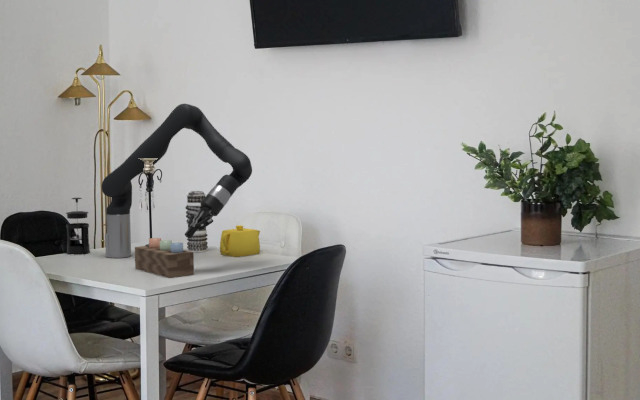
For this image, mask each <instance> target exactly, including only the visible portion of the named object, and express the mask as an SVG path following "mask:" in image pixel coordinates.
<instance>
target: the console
mask: <svg viewBox="0 0 640 400" xmlns="http://www.w3.org/2000/svg"><path fill="white" fill-rule="evenodd" d="M194 255H195V254H194V253H193V252H191V251H187V249H183V252H182V253H171V250H166V251H162V250H160V248H149V245H142V246H134V265H135V269H136V270H139V271H143V272H146V273H150V274H154V275H157V276H161V277H165V278H168V279H171V278H179V277H185V276H193V275H195V266H194V265H195V261H194V259H195V257H194Z"/></svg>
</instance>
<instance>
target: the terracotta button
mask: <svg viewBox="0 0 640 400" xmlns="http://www.w3.org/2000/svg"><path fill="white" fill-rule="evenodd" d="M160 241H162V237H161V238H160V237H152V238H149V239H148V246H149V248H160Z"/></svg>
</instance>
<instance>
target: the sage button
mask: <svg viewBox="0 0 640 400" xmlns="http://www.w3.org/2000/svg"><path fill="white" fill-rule="evenodd" d="M171 243H173V241H172V240H171V239H163V240H162V239H161V241H160V250H162V251H166V250H171Z"/></svg>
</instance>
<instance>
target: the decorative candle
mask: <svg viewBox="0 0 640 400" xmlns="http://www.w3.org/2000/svg"><path fill="white" fill-rule="evenodd" d="M186 196H187V197H186V200H187V201H186V206H185V210H186V211H185V213H186V215H185V217H186V218H187V219H186V220H185V221H186V224H187V230H188V229H189V228H190V225H189V220H190V216H191V214H192V213H193V214H194V215H195V214H197V212H198V210H200V209H201V205H200V204H201V202H202V200H203V199H204V198H205V197H206V194H205V192H204V191H202V190H201V191H200V190H194V191H193V190H191V191H189V192H188V194H187V195H186ZM207 230H208V229H207V226H206V227H205V228H203V229H202V230H200V229H199V230H198V231H196V232H195V233H194V235H193V236H192V237H191V238H187V239H186V240H187V242H186V244H187V246H186V248H187V249H186V251H191V252H193V253H205V252H208V248H209V247H208V239H209V238H208V234H207Z"/></svg>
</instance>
